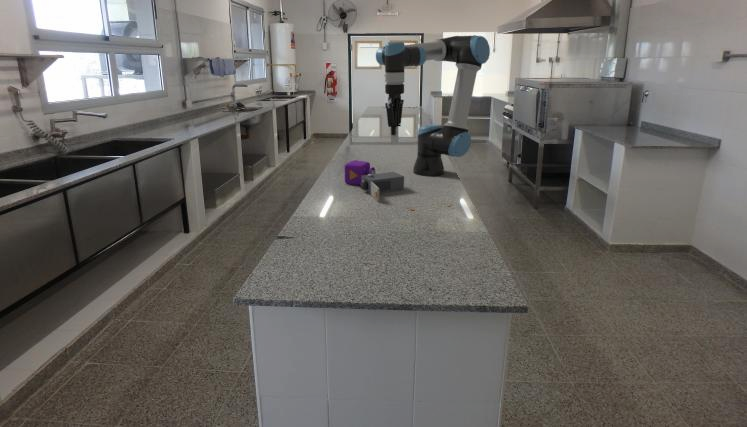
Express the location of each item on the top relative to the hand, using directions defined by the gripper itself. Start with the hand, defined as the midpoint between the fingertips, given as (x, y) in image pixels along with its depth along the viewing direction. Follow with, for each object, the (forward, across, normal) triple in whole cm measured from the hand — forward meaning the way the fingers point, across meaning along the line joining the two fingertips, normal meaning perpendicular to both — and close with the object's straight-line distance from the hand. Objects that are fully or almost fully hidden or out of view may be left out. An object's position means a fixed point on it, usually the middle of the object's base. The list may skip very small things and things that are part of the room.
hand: (394, 142), depth 201 cm
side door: (+21, +12, -4) cm, 24 cm away
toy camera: (+22, -6, -20) cm, 30 cm away
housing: (+21, -1, -6) cm, 22 cm away
